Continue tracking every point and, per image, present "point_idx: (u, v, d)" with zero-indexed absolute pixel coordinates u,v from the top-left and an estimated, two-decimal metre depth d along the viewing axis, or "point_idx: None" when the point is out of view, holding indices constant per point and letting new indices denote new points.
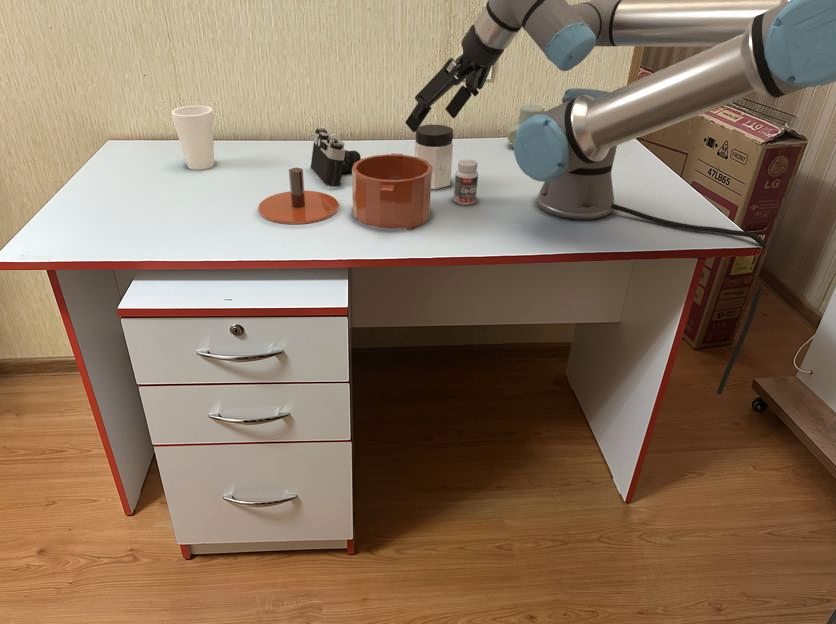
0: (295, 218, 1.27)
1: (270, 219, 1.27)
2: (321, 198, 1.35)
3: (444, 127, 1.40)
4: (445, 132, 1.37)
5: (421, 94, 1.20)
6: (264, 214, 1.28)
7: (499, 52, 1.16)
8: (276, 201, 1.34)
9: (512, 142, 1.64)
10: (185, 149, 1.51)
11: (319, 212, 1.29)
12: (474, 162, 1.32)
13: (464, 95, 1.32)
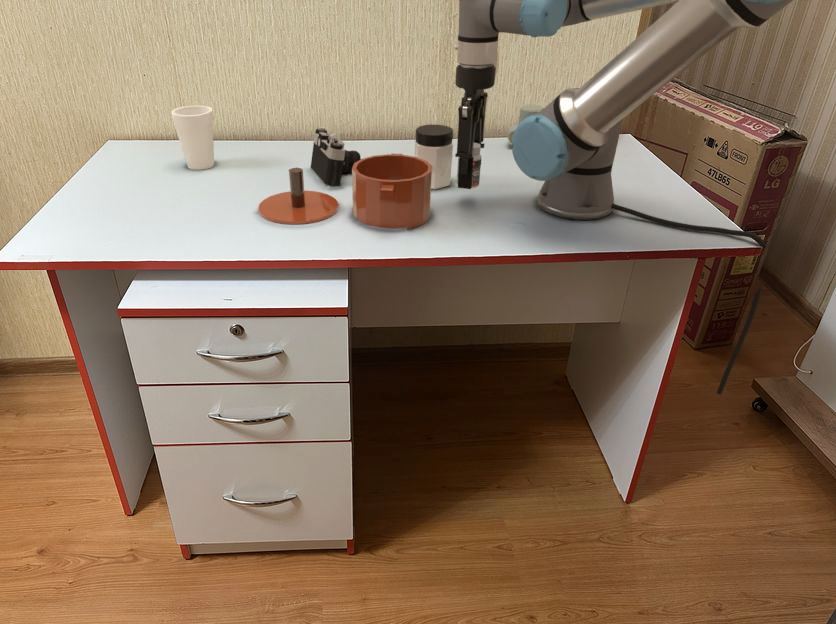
0: (295, 218, 1.27)
1: (270, 219, 1.27)
2: (321, 198, 1.35)
3: (444, 127, 1.40)
4: (445, 132, 1.37)
5: (459, 150, 1.25)
6: (264, 214, 1.28)
7: (493, 68, 1.20)
8: (276, 201, 1.34)
9: (512, 142, 1.64)
10: (185, 149, 1.51)
11: (319, 212, 1.29)
12: (477, 144, 1.29)
13: None
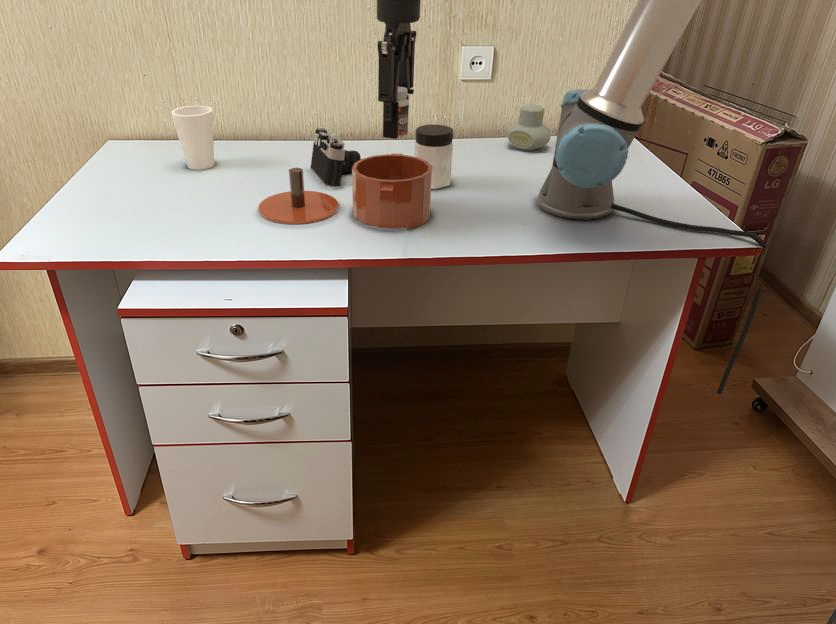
0: (295, 218, 1.27)
1: (270, 219, 1.27)
2: (321, 198, 1.35)
3: (444, 127, 1.40)
4: (445, 132, 1.37)
5: (381, 92, 1.12)
6: (264, 214, 1.28)
7: None
8: (276, 201, 1.34)
9: (512, 142, 1.64)
10: (185, 149, 1.51)
11: (319, 212, 1.29)
12: (404, 88, 1.17)
13: None
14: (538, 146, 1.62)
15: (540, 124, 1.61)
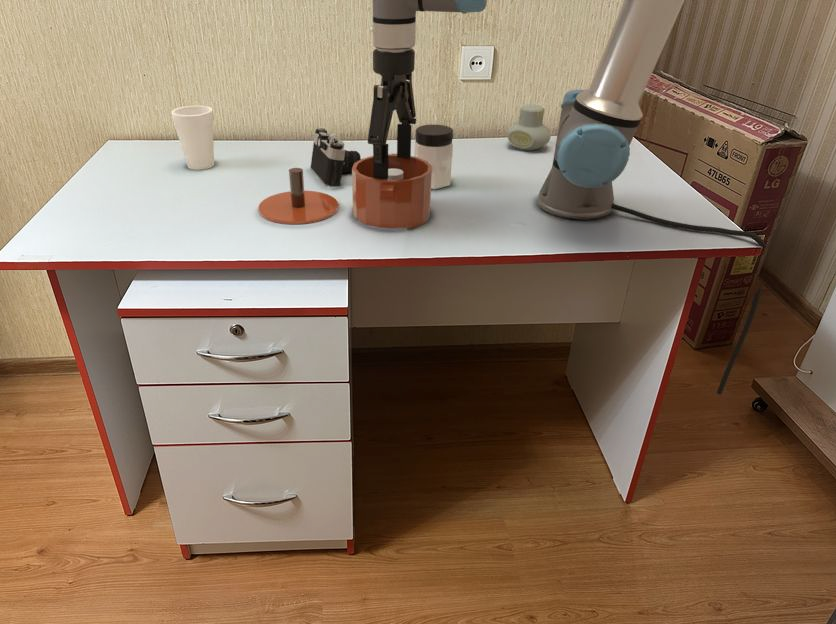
0: (295, 218, 1.27)
1: (270, 219, 1.27)
2: (321, 198, 1.35)
3: (444, 127, 1.40)
4: (445, 132, 1.37)
5: (371, 134, 1.13)
6: (264, 214, 1.28)
7: (412, 52, 1.12)
8: (276, 201, 1.34)
9: (512, 142, 1.64)
10: (185, 149, 1.51)
11: (319, 212, 1.29)
12: (400, 171, 1.26)
13: (406, 130, 1.26)
14: (538, 146, 1.62)
15: (540, 124, 1.61)
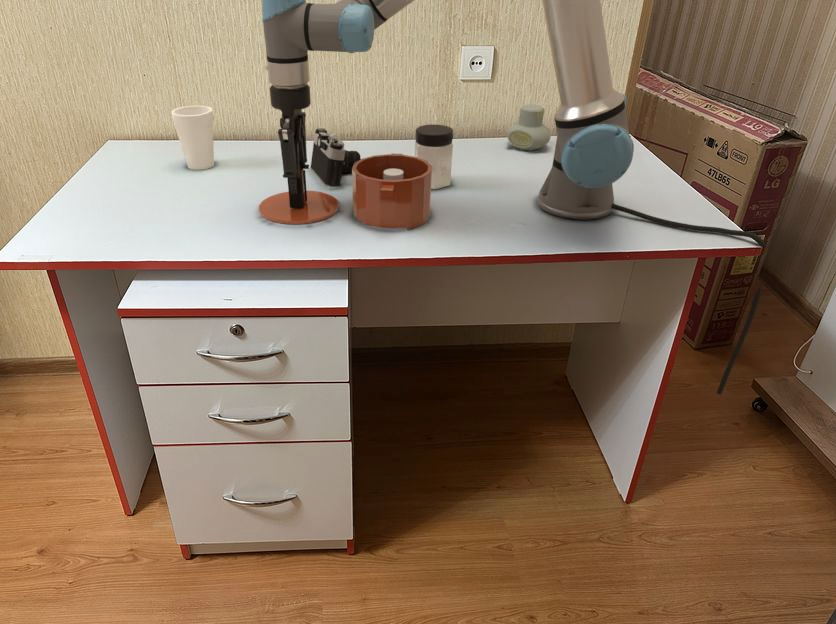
0: (295, 218, 1.27)
1: (270, 219, 1.27)
2: (321, 198, 1.35)
3: (444, 127, 1.40)
4: (445, 132, 1.37)
5: (286, 171, 1.23)
6: (264, 214, 1.28)
7: (307, 87, 1.18)
8: (276, 201, 1.34)
9: (512, 142, 1.64)
10: (185, 149, 1.51)
11: (319, 212, 1.29)
12: (400, 171, 1.26)
13: None
14: (538, 146, 1.62)
15: (540, 124, 1.61)
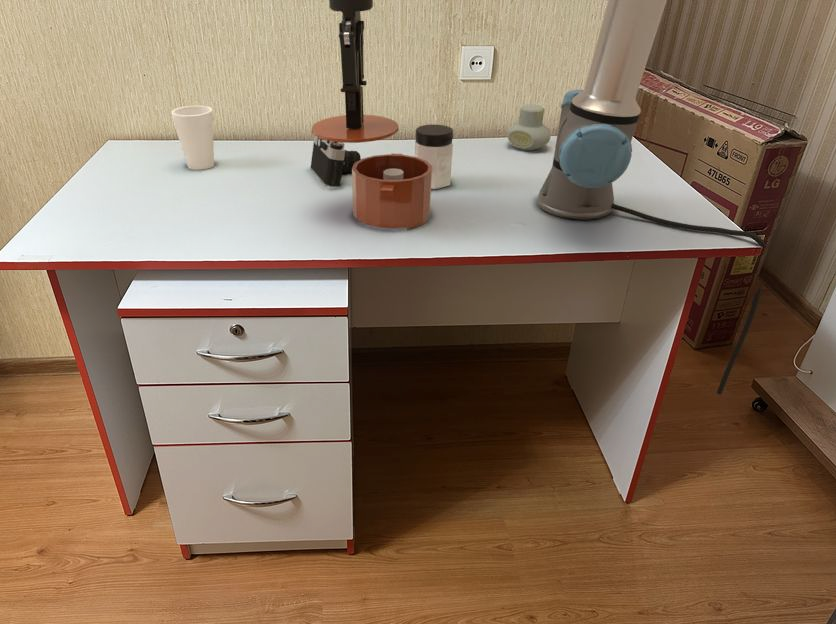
0: (354, 136, 1.16)
1: (327, 138, 1.16)
2: (378, 120, 1.24)
3: (444, 127, 1.40)
4: (445, 132, 1.37)
5: (346, 83, 1.12)
6: (319, 134, 1.18)
7: None
8: (330, 123, 1.23)
9: (512, 142, 1.64)
10: (185, 149, 1.51)
11: (379, 131, 1.18)
12: (400, 171, 1.26)
13: None
14: (538, 146, 1.62)
15: (540, 124, 1.61)
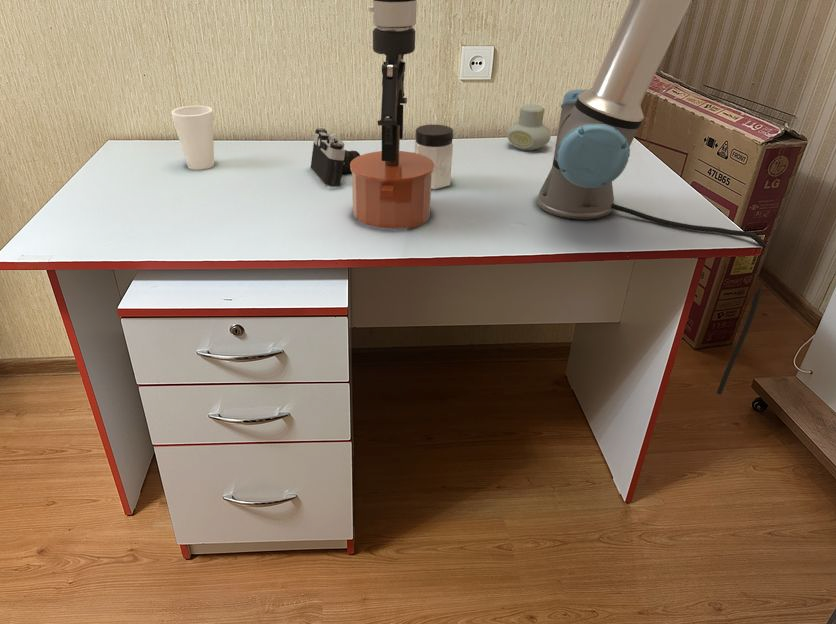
0: (392, 176, 1.19)
1: (366, 177, 1.19)
2: (414, 157, 1.28)
3: (444, 127, 1.40)
4: (445, 132, 1.37)
5: (384, 114, 1.10)
6: (358, 172, 1.21)
7: (414, 30, 1.10)
8: (367, 160, 1.26)
9: (512, 142, 1.64)
10: (185, 149, 1.51)
11: (416, 170, 1.22)
12: None
13: (398, 110, 1.25)
14: (538, 146, 1.62)
15: (540, 124, 1.61)
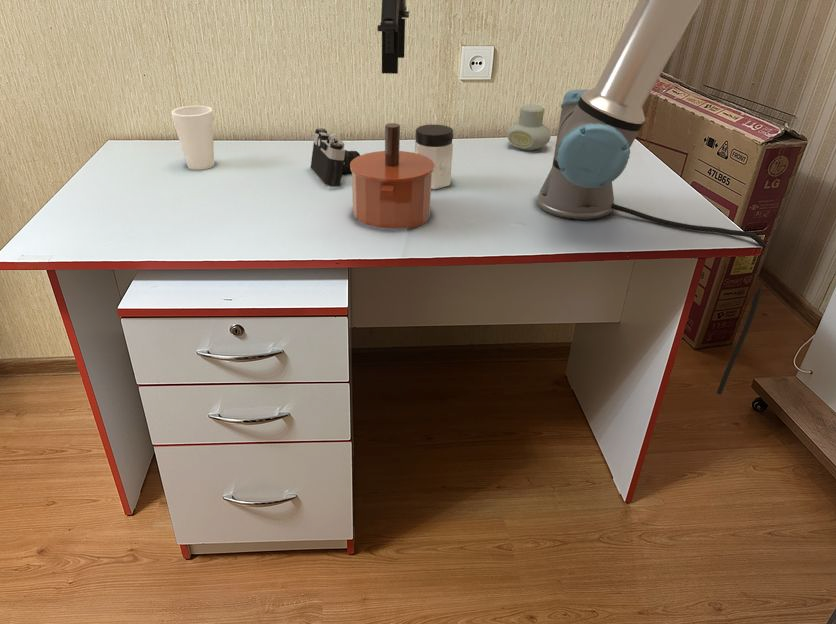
0: (392, 176, 1.19)
1: (366, 177, 1.19)
2: (414, 157, 1.28)
3: (444, 127, 1.40)
4: (445, 132, 1.37)
5: (385, 17, 1.01)
6: (358, 172, 1.21)
7: None
8: (367, 160, 1.26)
9: (512, 142, 1.64)
10: (185, 149, 1.51)
11: (416, 170, 1.22)
12: None
13: (400, 24, 1.16)
14: (538, 146, 1.62)
15: (540, 124, 1.61)
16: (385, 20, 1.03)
